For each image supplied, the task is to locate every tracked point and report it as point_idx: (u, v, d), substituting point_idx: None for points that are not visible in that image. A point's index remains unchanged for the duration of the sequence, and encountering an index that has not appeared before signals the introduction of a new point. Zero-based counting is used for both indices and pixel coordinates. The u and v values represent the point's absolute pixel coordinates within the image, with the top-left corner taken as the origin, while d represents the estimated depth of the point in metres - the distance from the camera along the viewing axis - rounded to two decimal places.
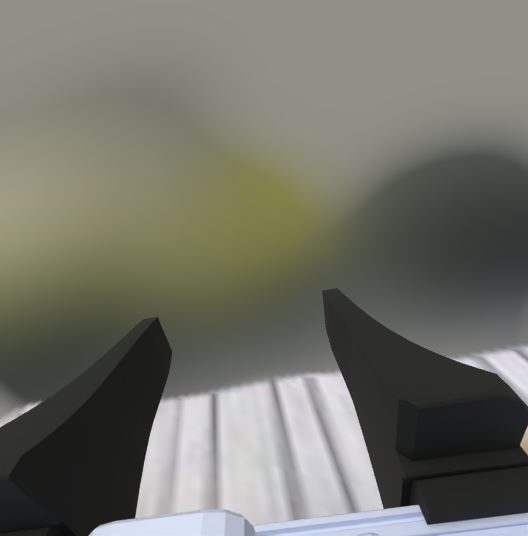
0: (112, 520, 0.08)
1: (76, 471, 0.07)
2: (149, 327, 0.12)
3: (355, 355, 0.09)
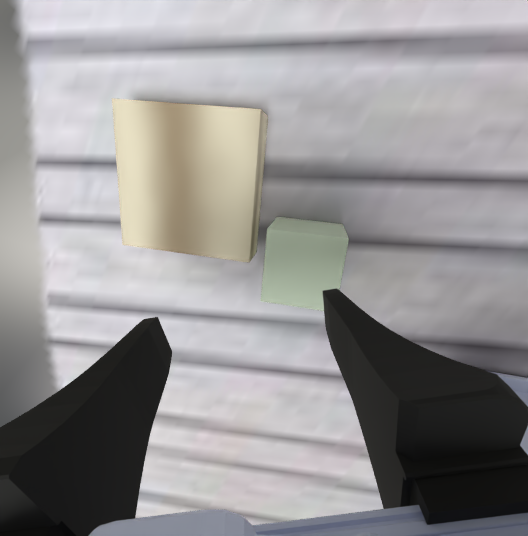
0: (112, 520, 0.08)
1: (76, 471, 0.07)
2: (149, 327, 0.12)
3: (355, 355, 0.09)
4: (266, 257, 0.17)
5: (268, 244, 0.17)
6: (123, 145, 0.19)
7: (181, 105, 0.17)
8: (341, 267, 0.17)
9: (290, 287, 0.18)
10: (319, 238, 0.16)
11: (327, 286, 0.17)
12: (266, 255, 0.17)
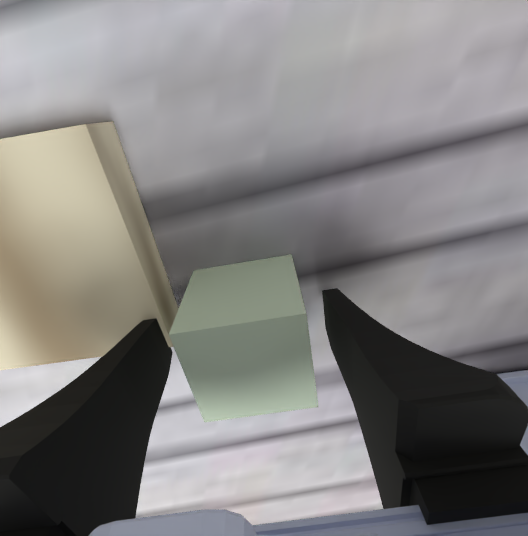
0: (112, 520, 0.08)
1: (76, 471, 0.07)
2: (149, 327, 0.12)
3: (355, 355, 0.09)
4: (186, 370, 0.10)
5: (181, 353, 0.10)
6: None
7: None
8: (308, 352, 0.10)
9: (241, 395, 0.11)
10: (259, 324, 0.10)
11: (296, 381, 0.11)
12: (185, 368, 0.10)
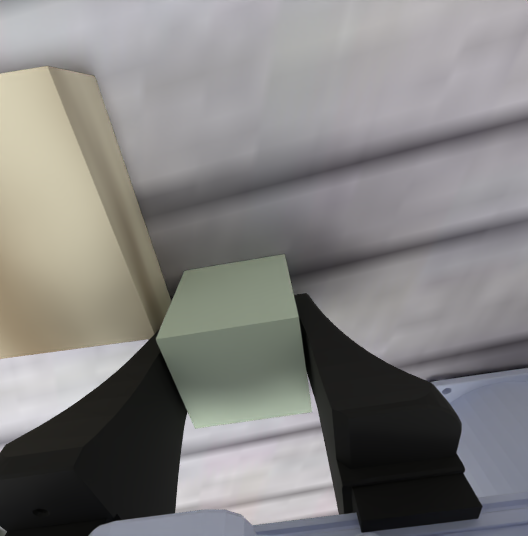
0: (157, 514, 0.08)
1: (127, 464, 0.07)
2: None
3: (313, 361, 0.09)
4: (175, 376, 0.10)
5: (169, 359, 0.10)
6: None
7: None
8: (301, 357, 0.10)
9: (232, 401, 0.11)
10: (249, 329, 0.09)
11: (289, 386, 0.10)
12: (174, 373, 0.10)
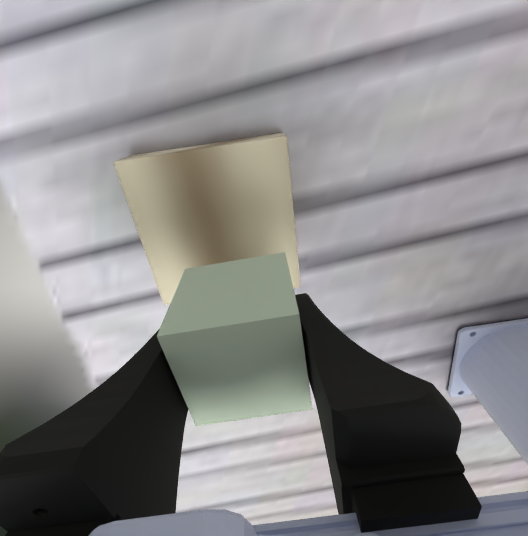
0: (157, 514, 0.08)
1: (127, 464, 0.07)
2: None
3: (312, 361, 0.09)
4: (176, 373, 0.10)
5: (170, 356, 0.10)
6: (139, 208, 0.17)
7: (196, 151, 0.15)
8: (301, 354, 0.10)
9: (233, 398, 0.11)
10: (250, 325, 0.09)
11: (289, 383, 0.11)
12: (174, 370, 0.10)
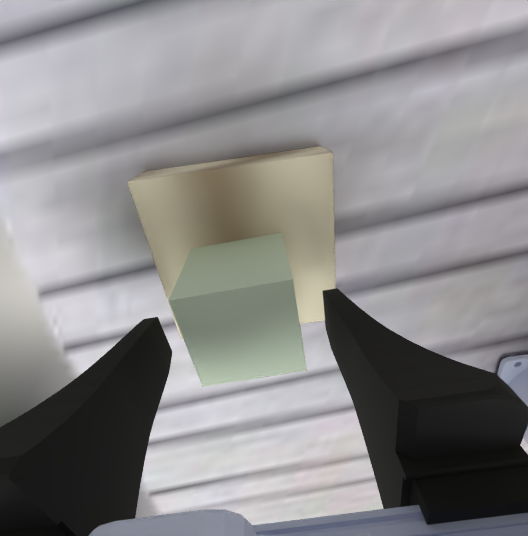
0: (112, 520, 0.08)
1: (76, 471, 0.07)
2: (149, 327, 0.12)
3: (355, 355, 0.09)
4: (185, 335, 0.11)
5: (180, 319, 0.11)
6: (156, 234, 0.14)
7: (225, 170, 0.13)
8: (295, 317, 0.11)
9: (235, 359, 0.12)
10: (250, 290, 0.11)
11: (285, 344, 0.12)
12: (184, 333, 0.11)
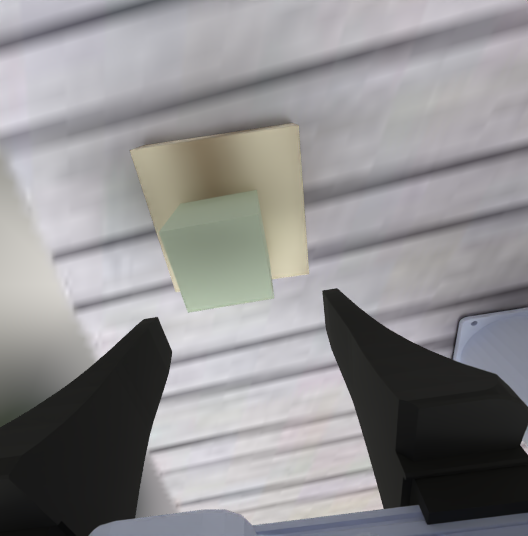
0: (112, 520, 0.08)
1: (76, 471, 0.07)
2: (149, 327, 0.12)
3: (355, 355, 0.09)
4: (172, 264, 0.14)
5: (168, 249, 0.14)
6: (154, 196, 0.17)
7: (211, 140, 0.16)
8: (262, 248, 0.14)
9: (214, 287, 0.15)
10: (224, 223, 0.13)
11: (255, 274, 0.14)
12: (171, 262, 0.14)
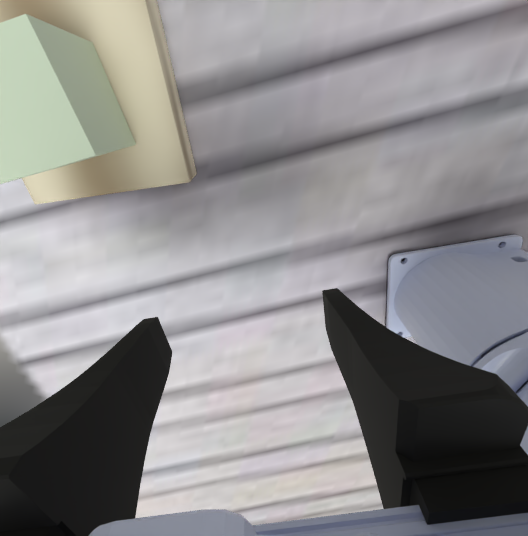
0: (112, 520, 0.08)
1: (76, 471, 0.07)
2: (149, 327, 0.12)
3: (355, 355, 0.09)
4: None
5: None
6: None
7: None
8: (52, 73, 0.10)
9: (14, 142, 0.12)
10: None
11: (58, 117, 0.11)
12: None
